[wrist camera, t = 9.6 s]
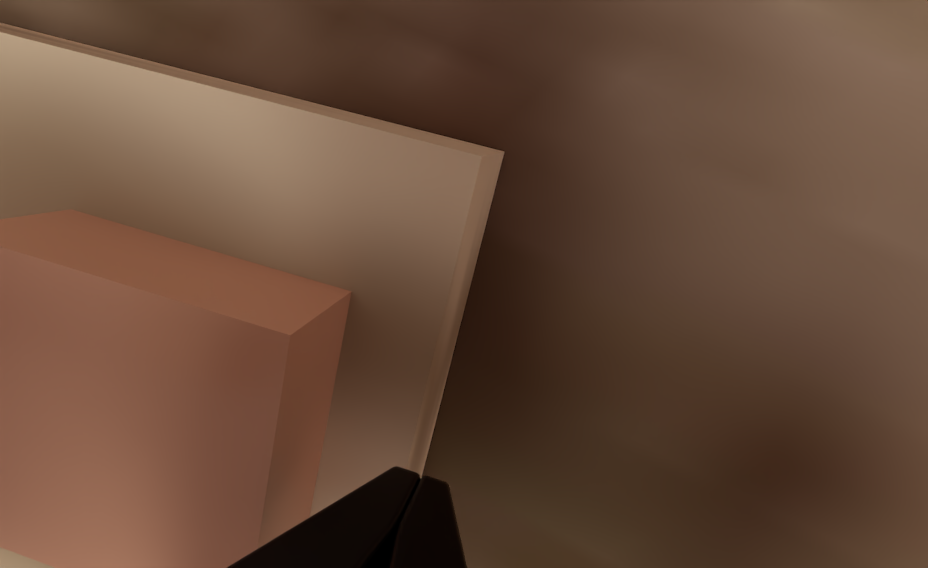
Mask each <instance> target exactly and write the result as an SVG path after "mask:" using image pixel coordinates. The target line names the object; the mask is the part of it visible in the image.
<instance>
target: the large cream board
mask: <svg viewBox="0 0 928 568" xmlns="http://www.w3.org/2000/svg"><path fill="white" fill-rule="evenodd" d="M503 156H504V151H500V150H496V149H493V148H489V147H485V146H481V145H477V144H473V143H469V142H465V141H461V140H457V139H453V138H450V137H446V136H442V135H438V134H434V133H430V132H426V131H422V130H418V129H414V128H411V127H407V126H403V125H399V124H395V123H391V122H387V121H383V120H379V119H375V118H371V117H368V116H364V115H360V114H356V113H352V112H348V111H344V110H340V109H336V108H332V107H328V106H325V105H321V104H317V103H313V102H309V101H305V100H301V99H297V98H293V97H289V96H285V95H282V94H278V93H274V92H270V91H266V90H262V89H258V88H254V87H250V86H246V85H243V84H239V83H235V82H231V81H227V80H223V79H219V78H215V77H211V76H207V75H203V74H200V73H196V72H192V71H188V70H184V69H180V68H176V67H172V66H168V65H164V64H160V63H157V62H153V61H149V60H145V59H141V58H137V57H133V56H129V55H125V54H121V53H117V52H114V51H110V50H106V49H102V48H98V47H94V46H90V45H86V44H82V43H78V42H75V41H71V40H67V39H63V38H59V37H55V36H51V35H47V34H43V33H39V32H35V31H32V30H28V29H24V28H20V27H16V26H12V25H8V24H4V23H0V219H6V218H13V217H20V216H27V215H34V214H41V213H48V212H55V211H62V210H69V209H72V210H75V211H79V212H82V213H86V214H89V215H92V216H96V217H99V218H103V219H106V220H109V221H113V222H116V223H120V224H123V225H127V226H130V227H133V228H137V229H140V230H144V231H147V232H150V233H154V234H157V235H161V236H164V237H167V238H171V239H174V240H178V241H181V242H185V243H188V244H191V245H195V246H198V247H202V248H205V249H208V250H212V251H215V252H219V253H222V254H226V255H229V256H232V257H236V258H239V259H243V260H246V261H249V262H253V263H256V264H260V265H263V266H266V267H270V268H273V269H277V270H280V271H284V272H287V273H290V274H294V275H297V276H301V277H304V278H307V279H311V280H314V281H318V282H321V283H324V284H328V285H331V286H335V287H338V288H342V289H345V290H348V291H352V292H351V297H350V303H349V308H348V314H347V319H346V324H345V330H344V335H343V340H342V346H341V351H340V357H339V362H338V367H337V373H336V378H335V383H334V389H333V394H332V399H331V405H330V410H329V416H328V421H327V426H326V432H325V437H324V442H323V448H322V453H321V459H320V464H319V469H318V475H317V480H316V485H315V491H314V496H313V501H312V507H311V512H310V517H311V516H312V515H314V514H316V513H317V512H319V511H321V510H322V509H324V508H326V507H327V506H329V505H331V504H332V503H334V502H336V501H337V500H339V499H341V498H342V497H344V496H346V495H347V494H349V493H350V492H352V491H354V490H355V489H357V488H359V487H360V486H362V485H364V484H365V483H367V482H369V481H370V480H372V479H374V478H375V477H377V476H379V475H380V474H382V473H384V472H385V471H387V470H388V469H390V468H392V467H395V466H398V467H402V468H405V469H408V470H411V471H414V472H417V473H418V474H419V475H420V478H421V477H422V474H423V470H424V466H425V463H426V459H427V455H428V451H429V447H430V443H431V439H432V435H433V431H434V427H435V423H436V419H437V415H438V411H439V407H440V404H441V400H442V396H443V392H444V388H445V384H446V380H447V376H448V372H449V368H450V364H451V360H452V356H453V352H454V348H455V345H456V341H457V337H458V333H459V329H460V325H461V321H462V317H463V313H464V309H465V305H466V301H467V297H468V293H469V289H470V286H471V282H472V278H473V274H474V270H475V266H476V262H477V258H478V254H479V250H480V246H481V242H482V238H483V234H484V230H485V227H486V223H487V219H488V215H489V211H490V207H491V203H492V199H493V195H494V191H495V187H496V183H497V179H498V175H499V172H500V168H501V164H502V160H503ZM0 568H54V567H52V566H49V565H46V564H44V563H41V562H38V561H36V560H33V559H30V558H28V557H25V556H22V555H20V554H17V553H14V552H12V551H9V550H6V549H4V548H1V547H0Z"/></svg>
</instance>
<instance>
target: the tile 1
mask: <svg viewBox="0 0 928 568" xmlns="http://www.w3.org/2000/svg"><path fill="white" fill-rule="evenodd" d="M351 292H352V291H348V290H345V289H342V288H338V287H335V286H331V285H328V284H324V283H321V282H318V281H314V280H311V279H307V278H304V277H301V276H297V275H294V274H290V273H287V272H284V271H280V270H277V269H273V268H270V267H266V266H263V265H260V264H256V263H253V262H249V261H246V260H243V259H239V258H236V257H232V256H229V255H226V254H222V253H219V252H215V251H212V250H208V249H205V248H202V247H198V246H195V245H191V244H188V243H185V242H181V241H178V240H174V239H171V238H167V237H164V236H161V235H157V234H154V233H150V232H147V231H144V230H140V229H137V228H133V227H130V226H127V225H123V224H120V223H116V222H113V221H109V220H106V219H103V218H99V217H96V216H92V215H89V214H86V213H82V212H79V211H75V210H72V209H69V210H62V211H55V212H48V213H41V214H34V215H27V216H20V217H13V218H6V219H0V547H1V548H4V549H6V550H9V551H12V552H14V553H17V554H20V555H22V556H25V557H28V558H30V559H33V560H36V561H38V562H41V563H44V564H46V565H49V566H52V567H54V568H226V567H228V566H230V565H231V564H233V563H235V562H236V561H238V560H240V559H241V558H243V557H245V556H246V555H248V554H250V553H251V552H253V551H255V550H256V549H258V548H260V547H261V546H263V545H265V544H266V543H268V542H269V541H271V540H273V539H274V538H276V537H278V536H279V535H281V534H283V533H284V532H286V531H288V530H289V529H291V528H293V527H294V526H296V525H298V524H299V523H301V522H303V521H304V520H306V519H307V518H309V517H310V512H311V507H312V501H313V496H314V491H315V485H316V480H317V475H318V469H319V464H320V459H321V453H322V448H323V442H324V437H325V432H326V426H327V421H328V416H329V410H330V405H331V399H332V394H333V389H334V383H335V378H336V373H337V367H338V362H339V357H340V351H341V346H342V340H343V335H344V330H345V324H346V319H347V314H348V308H349V303H350V297H351Z"/></svg>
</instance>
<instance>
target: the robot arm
mask: <svg viewBox="0 0 928 568" xmlns="http://www.w3.org/2000/svg"><path fill="white" fill-rule="evenodd" d="M226 568H467V565H466V561H465V556H464V552H463V547H462V543H461V538H460V534H459V529H458V525H457V520H456V515H455V511H454V506H453V502H452V497H451V493H450V488H449V485H448V484H447V483H446V482H444V481H441V480H438V479H435V478H432V477H429V476H423V477H421V478H420V475H419V474H418V473H417V472H414V471H411V470H408V469H405V468H402V467H398V466H395V467H392V468H390V469H388V470H387V471H385V472H384V473H382V474H380V475H379V476H377V477H375V478H374V479H372V480H370V481H369V482H367V483H365V484H364V485H362V486H360V487H359V488H357V489H355V490H354V491H352V492H350V493H349V494H347V495H346V496H344V497H342V498H341V499H339V500H337V501H336V502H334V503H332V504H331V505H329V506H327V507H326V508H324V509H322V510H321V511H319V512H317V513H316V514H314V515H312V516H311V517H309V518H307V519H306V520H304V521H303V522H301V523H299V524H298V525H296V526H294V527H293V528H291V529H289V530H288V531H286V532H284V533H283V534H281V535H279V536H278V537H276V538H274V539H273V540H271V541H269V542H268V543H266V544H265V545H263V546H261V547H260V548H258V549H256V550H255V551H253V552H251V553H250V554H248V555H246V556H245V557H243V558H241V559H240V560H238V561H236V562H235V563H233V564H231V565H230V566H228V567H226Z"/></svg>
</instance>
